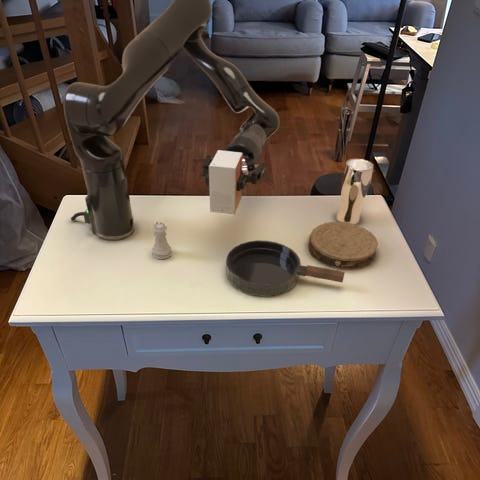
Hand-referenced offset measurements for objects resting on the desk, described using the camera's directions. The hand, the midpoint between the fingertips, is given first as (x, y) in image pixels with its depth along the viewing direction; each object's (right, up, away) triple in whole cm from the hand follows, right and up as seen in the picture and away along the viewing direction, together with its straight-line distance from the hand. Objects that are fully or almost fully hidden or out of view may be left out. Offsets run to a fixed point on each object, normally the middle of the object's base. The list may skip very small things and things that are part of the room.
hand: (223, 184), depth 93 cm
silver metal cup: (+32, -1, +26) cm, 41 cm away
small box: (0, -3, +6) cm, 7 cm away
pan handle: (+21, -19, +3) cm, 28 cm away
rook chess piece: (-15, -13, +12) cm, 23 cm away
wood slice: (+28, -11, +15) cm, 34 cm away
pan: (+9, -18, +7) cm, 21 cm away
